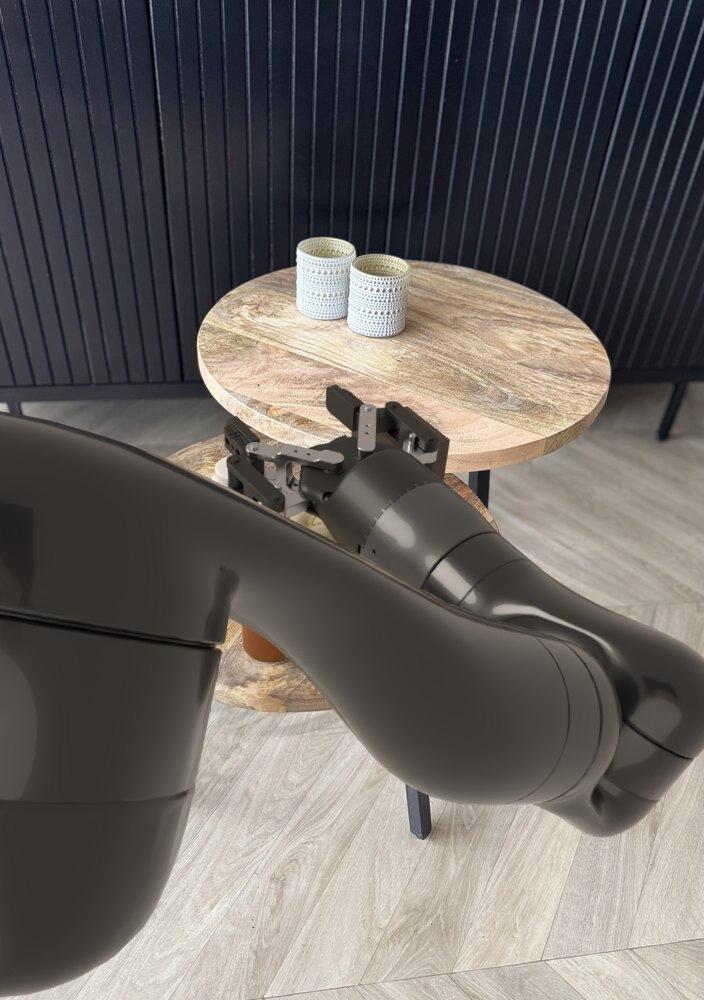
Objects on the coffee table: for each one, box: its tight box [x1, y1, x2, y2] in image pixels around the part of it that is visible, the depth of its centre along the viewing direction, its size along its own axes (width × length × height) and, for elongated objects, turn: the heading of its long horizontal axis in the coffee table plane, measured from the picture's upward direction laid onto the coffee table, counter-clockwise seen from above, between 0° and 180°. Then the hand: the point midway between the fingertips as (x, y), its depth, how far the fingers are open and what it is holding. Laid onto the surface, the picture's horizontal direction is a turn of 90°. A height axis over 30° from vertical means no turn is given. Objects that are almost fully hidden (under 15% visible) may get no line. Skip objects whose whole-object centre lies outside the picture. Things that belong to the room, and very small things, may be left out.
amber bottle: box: [241, 625, 287, 663], centre depth 75 cm, size 5×5×12 cm
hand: (281, 411), depth 60 cm, fingers open, 8 cm apart
